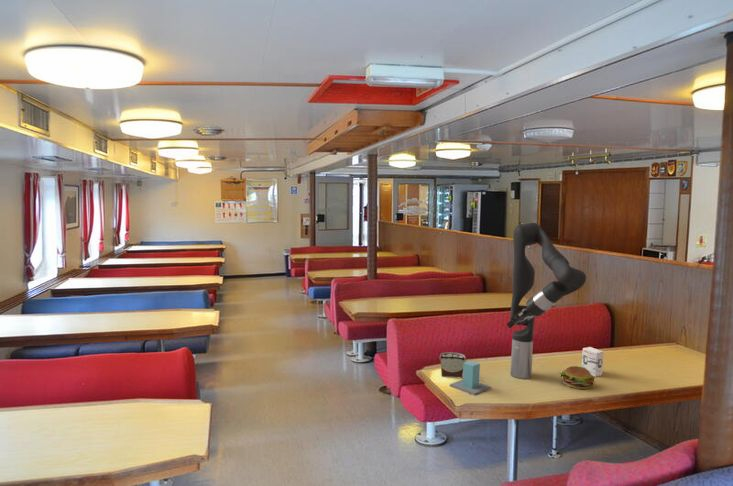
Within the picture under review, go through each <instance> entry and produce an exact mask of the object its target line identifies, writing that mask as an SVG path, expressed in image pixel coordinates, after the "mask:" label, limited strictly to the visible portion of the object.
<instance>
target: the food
mask: <svg viewBox="0 0 733 486" xmlns="http://www.w3.org/2000/svg"><path fill="white" fill-rule="evenodd" d="M559 374H560V378H562V379H563V381H562V382H563V384H564V385H565V386H567V387H569V388H573V389H576V390H587V389H588V390H589V389H591V387H592V386H593V385H594V382H595V379H596V377H594V376H593V375H591V373H590V372H589V371H588V370H587V369H585V368H582V367H581V366H575V365H574V366H568V367H567V368H565V369H564V370H562V371H561V372H559Z"/></svg>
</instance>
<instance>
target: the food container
mask: <svg viewBox="0 0 733 486" xmlns="http://www.w3.org/2000/svg"><path fill="white" fill-rule="evenodd" d="M438 359H439V360H440V370H441V371H440V372H441V377H442V378H444V377H445V378H458V377H459V378H462V379H463V364H464V363H465V362H466V361H467V357H466V355H464V354H463V353H459V352H452V351H449V352H448V351H447V352H442V353H440V355H439V358H438ZM459 378H458V379H459Z"/></svg>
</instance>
